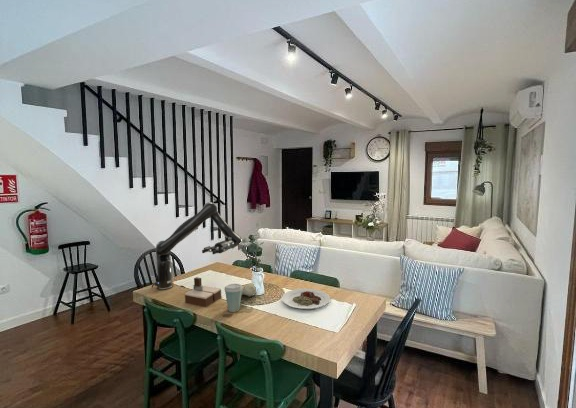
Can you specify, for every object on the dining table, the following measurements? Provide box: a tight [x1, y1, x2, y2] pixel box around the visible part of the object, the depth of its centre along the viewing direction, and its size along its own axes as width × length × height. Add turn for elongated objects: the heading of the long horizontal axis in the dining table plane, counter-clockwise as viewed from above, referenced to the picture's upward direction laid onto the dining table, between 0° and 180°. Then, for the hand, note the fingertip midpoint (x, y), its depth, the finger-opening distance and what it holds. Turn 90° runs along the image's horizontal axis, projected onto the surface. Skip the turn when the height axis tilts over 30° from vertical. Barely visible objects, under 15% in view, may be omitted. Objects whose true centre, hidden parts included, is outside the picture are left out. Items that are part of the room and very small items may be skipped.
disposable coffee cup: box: [223, 283, 244, 313], centre depth 184 cm, size 11×11×15 cm
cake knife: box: [192, 276, 204, 292], centre depth 200 cm, size 7×2×14 cm, turn 66°
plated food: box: [281, 288, 331, 310], centre depth 195 cm, size 30×30×3 cm
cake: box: [184, 285, 222, 308], centre depth 199 cm, size 16×15×6 cm
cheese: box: [241, 282, 257, 298], centre depth 206 cm, size 15×7×15 cm
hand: (207, 252), depth 208 cm, fingers open, 8 cm apart
